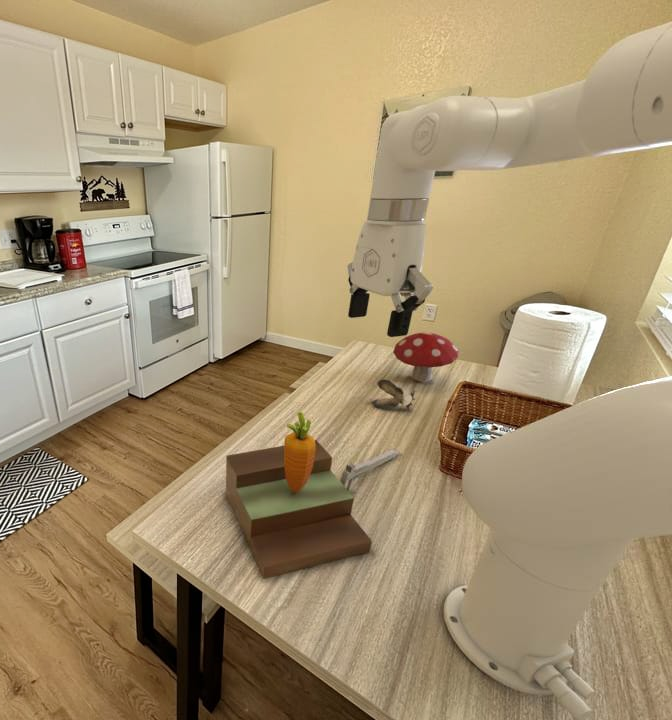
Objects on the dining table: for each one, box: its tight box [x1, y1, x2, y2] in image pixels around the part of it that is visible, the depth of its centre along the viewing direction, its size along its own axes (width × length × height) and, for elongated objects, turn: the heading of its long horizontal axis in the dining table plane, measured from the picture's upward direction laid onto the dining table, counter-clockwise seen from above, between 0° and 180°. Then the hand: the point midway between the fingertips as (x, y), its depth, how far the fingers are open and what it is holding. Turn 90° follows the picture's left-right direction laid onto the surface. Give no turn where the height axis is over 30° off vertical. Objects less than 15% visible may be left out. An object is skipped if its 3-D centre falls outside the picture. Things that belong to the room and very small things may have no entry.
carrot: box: [283, 411, 316, 494], centre depth 61 cm, size 5×5×15 cm
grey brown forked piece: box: [371, 378, 416, 411], centre depth 99 cm, size 8×7×9 cm
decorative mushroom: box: [392, 332, 460, 383], centre depth 110 cm, size 16×16×15 cm
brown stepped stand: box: [225, 439, 373, 579], centre depth 65 cm, size 18×18×9 cm
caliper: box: [339, 449, 400, 492], centre depth 76 cm, size 20×1×6 cm, turn 127°
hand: (375, 325), depth 62 cm, fingers open, 9 cm apart
